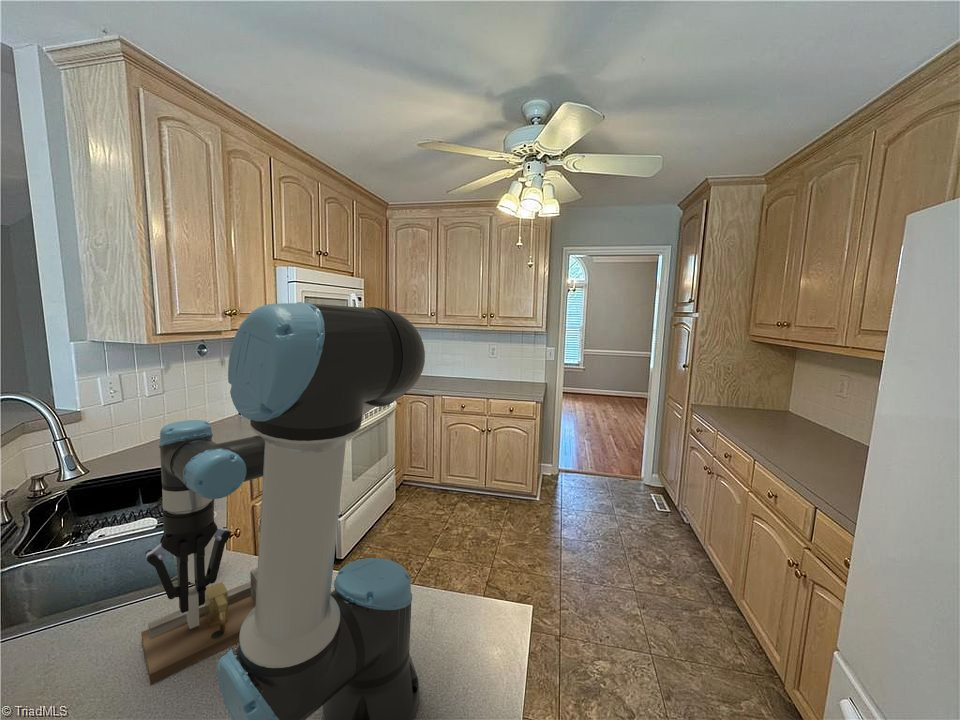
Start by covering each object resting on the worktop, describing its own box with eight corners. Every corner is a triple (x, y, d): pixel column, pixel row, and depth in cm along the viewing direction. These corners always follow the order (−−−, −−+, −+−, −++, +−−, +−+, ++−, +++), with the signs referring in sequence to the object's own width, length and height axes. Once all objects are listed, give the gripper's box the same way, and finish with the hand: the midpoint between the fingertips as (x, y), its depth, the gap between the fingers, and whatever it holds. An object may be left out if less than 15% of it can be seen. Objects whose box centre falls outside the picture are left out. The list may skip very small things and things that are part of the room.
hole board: (297, 612, 83) (297, 576, 82) (150, 685, 66) (148, 640, 65) (277, 584, 91) (277, 551, 90) (141, 641, 74) (139, 602, 73)
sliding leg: (232, 629, 75) (232, 600, 75) (214, 637, 73) (213, 607, 73) (222, 608, 80) (222, 581, 80) (205, 616, 78) (204, 588, 77)
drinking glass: (177, 589, 88) (175, 525, 86) (191, 570, 95) (188, 511, 93) (212, 585, 90) (210, 522, 88) (223, 566, 96) (221, 508, 95)
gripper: (224, 488, 80) (227, 596, 82) (139, 508, 70) (145, 630, 73) (235, 501, 74) (237, 616, 77) (145, 525, 65) (151, 655, 68)
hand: (193, 622), depth 75 cm, fingers closed
